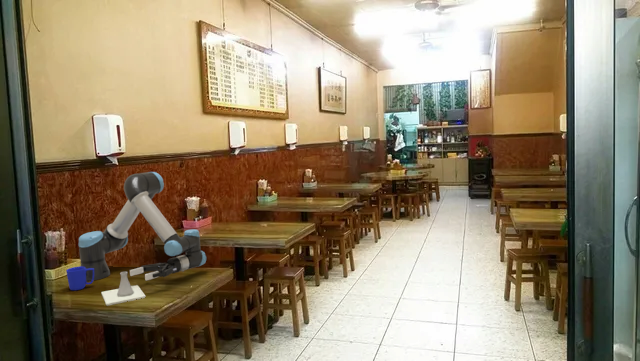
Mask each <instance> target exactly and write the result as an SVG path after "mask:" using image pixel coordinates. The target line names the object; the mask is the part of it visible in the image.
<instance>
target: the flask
mask: <svg viewBox="0 0 640 361" xmlns="http://www.w3.org/2000/svg"><path fill="white" fill-rule="evenodd" d="M119 275H120V283H119V287H118V289H119V290H118V293H117V295H118V296H127V295H131V294H133V293H134V291H133V289H132V287H131V286H132V285H131V283H130V281H129V278H128V271H121V272H120V273H119Z"/></svg>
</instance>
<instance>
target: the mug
mask: <svg viewBox="0 0 640 361" xmlns="http://www.w3.org/2000/svg"><path fill="white" fill-rule="evenodd" d="M87 270H93V278H92V281H89V282H88V281H86V271H87ZM66 276H67V281H68V287H69V289H70V291H79V290H83V289H85V287H86V285H90V284H93V283H94V281H95V280H94V268H89V269H85V267H80V266H73V267H70V268H68V269H66Z"/></svg>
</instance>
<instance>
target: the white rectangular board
mask: <svg viewBox="0 0 640 361" xmlns="http://www.w3.org/2000/svg"><path fill="white" fill-rule="evenodd" d="M131 287H132V289H133V291H134V293H133V294H131V295H127V296H118V295H117V293H118V290H119V288H116V289H111V290H105V291H101V297H102V298H103V300H104V303H105V305H106V306H107V307H109V306H112V305H113V306H114V305H117V304H121V303H126V302H127V301H128V302H132V301H136V299H137V300H142V299H146V298H145V297H146V295H145V293H144V292H143V290H142V289H141V288H140V286H139V284H136V285H131ZM141 298H142V299H141Z"/></svg>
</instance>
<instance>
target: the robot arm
mask: <svg viewBox="0 0 640 361" xmlns="http://www.w3.org/2000/svg"><path fill="white" fill-rule="evenodd" d="M123 183H124V185H123V191H124V194H125V196H126V198H127V201H126V203H125V204H124V205H123V207H122V208H121V210H120V211H119V213H118V214H117V216H116V217H115V219H114V221H113V222H112V223H110V224H108V225H107V226H106V228H105V229H104V230H103V231H101V230H96V231H91V232H90V231H89V232H86V233H83V234H82V235H80V236H79V237H78V244H77V245H78V248H79V249H78V251H79V260H80V266H79V267H85V269H89V268H94V280H93V281H96V280H101V279H105V278H107V277H109V276H111V271H110V269H109V265H108V264H107V262H106V256H105V255H106V254H109V253H112V252H116V251H118V250H119V251H120V250H121V249H123V248H124V247H125V246H126V245H127V244H128V241H129V238H128V237H129V232H128V231H129V230H130V228H131V226H132V225H133V223H134V222H135V220H136V219H137V217H138V216H139V214H142V216H143V217H144V220H146V221H147V223H148V225H149V226H151V227H152V229H153V231H154V232H155V233H156V235H157V236H158V237H159V238H160V239H161V241H162V242H163V244H164V246H163V250H164V253H165V254H166V255H167V256H169V257H172V258H168V260H167V261H166V262H158V263H153V264H152V263H151V264H145V265H143V264H142V265H141V266H140V267H137V268H134V269H129V276H130V277H132V276H136V275H140V274H144V273H145V274H144V279H145V281H151V280H153V279H156V278H159V277H160V278H162V277H163V278H166V277H167V276H170V275H171V274H176V273H179V272H185V271H186V270H190V269H193V268H197V267H201V266H203V265H204V264H206V261H207V255H206V253H205V251H203V250H201V236H200V232H199V230H198V229H193V228H192V229H187V230H185V231H184V232H183V234H184V235H183V236H180V235H179V234H178V233H177V231H176V230H175V229H174V228H173V226H172V225H171V224H170V222H169V221H168V220H167V218H166V217H165V216H164V215H163V214H162V212H161V210H160V209H159V208H158V207H157V206H156V204H155V203H154V201H153V198H154V197H155V195H156V194H160V193H161V192H162V191H163V190H164V186H165V183H164V179H163V177H162V176H161V175H160V174H159V173H157V171H148V172H139V173H134V174H133V173H132V174H131V175H129V176H128V177H126V179H125V181H124V182H123ZM182 253H185V254H183V255H181V254H182ZM175 256H176V257H175ZM147 272H148V273H147ZM92 278H93V270H87V271H86V282H91V281H92Z"/></svg>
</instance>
